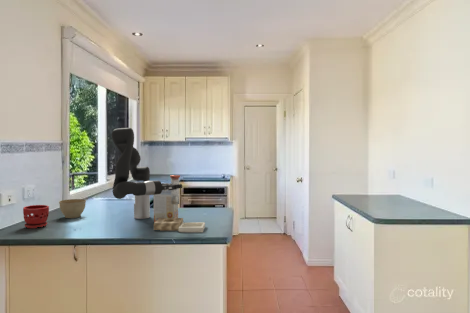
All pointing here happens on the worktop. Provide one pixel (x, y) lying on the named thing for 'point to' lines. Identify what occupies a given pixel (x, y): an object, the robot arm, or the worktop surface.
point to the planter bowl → (72, 207)
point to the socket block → (168, 223)
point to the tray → (192, 227)
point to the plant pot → (36, 215)
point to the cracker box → (164, 206)
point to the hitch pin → (175, 192)
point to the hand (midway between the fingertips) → (179, 185)
